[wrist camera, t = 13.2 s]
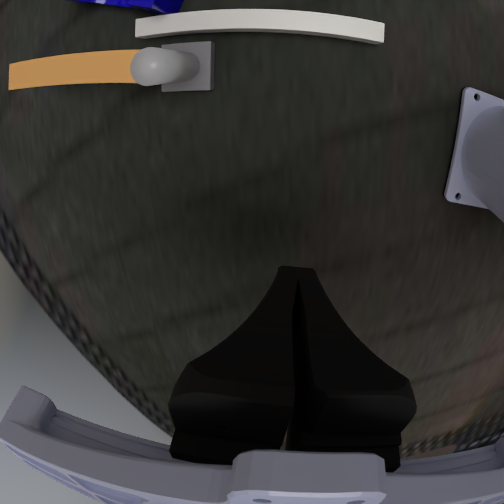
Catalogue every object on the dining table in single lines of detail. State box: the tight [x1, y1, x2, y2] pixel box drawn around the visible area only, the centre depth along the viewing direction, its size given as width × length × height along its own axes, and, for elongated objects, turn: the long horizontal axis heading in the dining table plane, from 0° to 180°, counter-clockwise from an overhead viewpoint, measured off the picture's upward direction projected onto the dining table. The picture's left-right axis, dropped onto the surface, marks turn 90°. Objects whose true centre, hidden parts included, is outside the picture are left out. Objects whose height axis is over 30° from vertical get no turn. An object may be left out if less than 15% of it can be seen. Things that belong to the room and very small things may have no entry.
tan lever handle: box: [9, 47, 200, 90], centre depth 14 cm, size 10×2×5 cm, turn 81°
